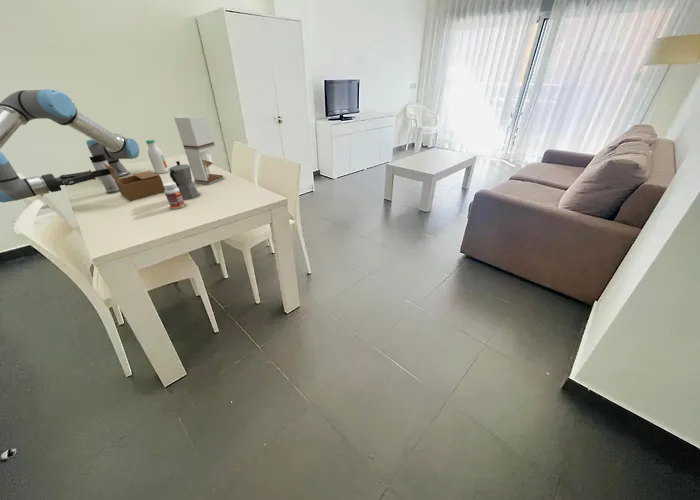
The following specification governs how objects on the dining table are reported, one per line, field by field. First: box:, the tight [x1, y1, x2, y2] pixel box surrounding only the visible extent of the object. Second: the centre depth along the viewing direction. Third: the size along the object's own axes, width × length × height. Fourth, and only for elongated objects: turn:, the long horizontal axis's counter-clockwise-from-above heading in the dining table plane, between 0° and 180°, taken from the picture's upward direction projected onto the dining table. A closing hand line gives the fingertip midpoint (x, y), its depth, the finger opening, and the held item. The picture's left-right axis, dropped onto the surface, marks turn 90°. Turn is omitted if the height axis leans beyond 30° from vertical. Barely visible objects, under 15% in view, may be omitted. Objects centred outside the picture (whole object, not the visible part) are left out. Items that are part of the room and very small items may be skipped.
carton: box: [115, 170, 166, 202], centre depth 149 cm, size 17×14×9 cm
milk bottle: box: [145, 139, 169, 175], centre depth 180 cm, size 8×8×20 cm
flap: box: [103, 163, 123, 184], centre depth 139 cm, size 8×14×1 cm
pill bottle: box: [163, 181, 186, 210], centre depth 132 cm, size 6×6×11 cm
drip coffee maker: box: [173, 114, 224, 186], centre depth 158 cm, size 11×11×35 cm
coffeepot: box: [168, 160, 200, 200], centre depth 141 cm, size 15×9×18 cm, turn 179°
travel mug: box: [88, 154, 120, 194], centre depth 150 cm, size 6×7×20 cm
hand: (109, 171), depth 138 cm, fingers closed
